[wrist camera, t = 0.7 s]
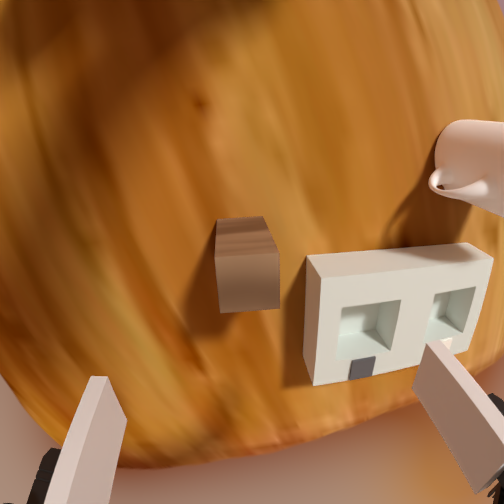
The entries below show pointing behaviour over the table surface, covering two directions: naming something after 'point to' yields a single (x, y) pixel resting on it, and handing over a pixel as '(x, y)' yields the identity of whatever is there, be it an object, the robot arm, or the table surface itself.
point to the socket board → (389, 307)
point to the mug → (471, 164)
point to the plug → (246, 265)
